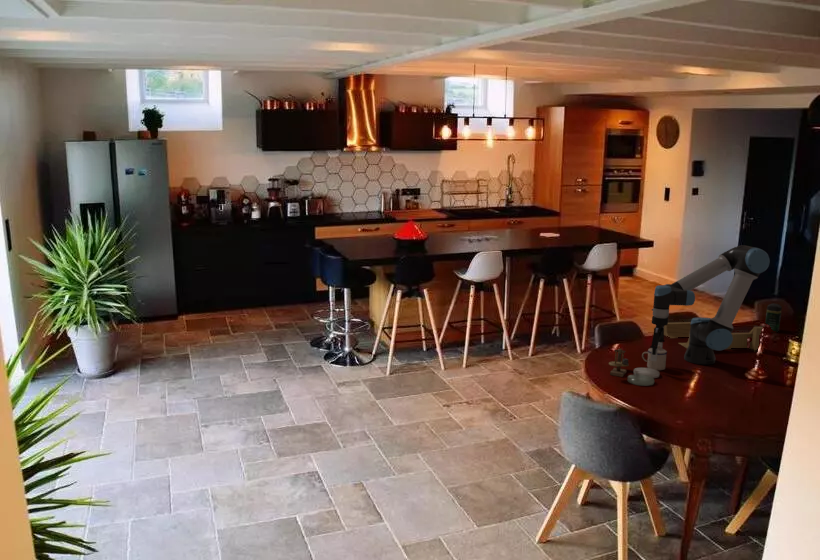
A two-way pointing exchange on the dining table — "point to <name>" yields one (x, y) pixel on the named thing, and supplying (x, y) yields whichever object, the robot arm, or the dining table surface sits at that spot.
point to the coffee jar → (773, 316)
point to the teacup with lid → (660, 359)
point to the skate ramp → (738, 342)
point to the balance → (619, 364)
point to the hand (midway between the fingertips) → (656, 357)
